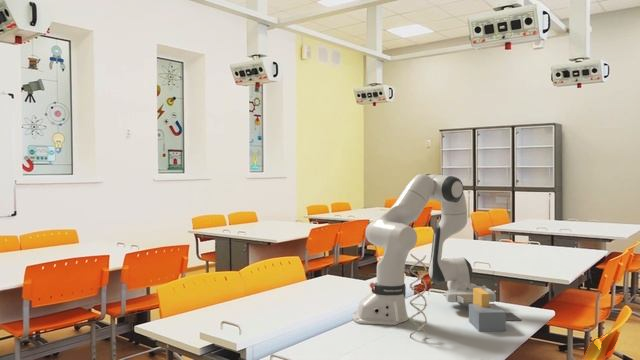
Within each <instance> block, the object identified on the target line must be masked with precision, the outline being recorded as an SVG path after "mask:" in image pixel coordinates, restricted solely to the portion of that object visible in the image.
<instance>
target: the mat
mask: <svg viewBox="0 0 640 360" xmlns="http://www.w3.org/2000/svg"><path fill="white" fill-rule="evenodd" d="M520 321H522V319H521V318H520V317H519V316H517V315H516V314H514V313H513V312H506V322H520Z"/></svg>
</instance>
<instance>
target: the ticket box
mask: <svg viewBox="0 0 640 360" xmlns="http://www.w3.org/2000/svg"><path fill="white" fill-rule="evenodd" d="M506 313H507V312H506V311H505V310H504V309H502V308H501V307H500V306H498V305H496V304H495V303H489V307H480V306H479V305H478V304H473V303H469V304H468V322H469V324H471V325H472V326H473V327H474V328H475V329H476V330H477V331H478V332H506V330H507V329H506V327H507V321H506Z"/></svg>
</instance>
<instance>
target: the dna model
mask: <svg viewBox="0 0 640 360" xmlns="http://www.w3.org/2000/svg"><path fill="white" fill-rule="evenodd" d="M410 256H411V257H412V258H413V259H415V260H416V261H417V262H416V263H414V264H413V265H411V266H410V267H409V272H410V273H411V274H412V275H414V276H415V277H417V279H415V280H414V281H413V282H411V283H410V284H409V288H410V289H411V290H412V291H414V292H415V293H416V294H417V296H415V297H413V298H412V299H410V301H409V305H411V306H412V307H413V308H414V309H416V311H417V312H416V313H415V314H414V315H411V316H410V317H408V320H409V321H410V322H412V324H414V325H416V326H417V329H416V330H415V331H412V332H411V333H410V334H409V338H411V337H412V336H413V335H414V334H416V333H418V332H419V331H421V330H422V333H424V338H425V340H427V332H426V330H425V329H424V327H425V326H426V324H427V322H428V320H427V316H426V314H425V313H424V312H423V311H424V310H425V309H426V307H427V306H428V304H427V299H426V297H425V296H424V294H425V292H426V290H427V287H428V286H427V282H426V281H425V280H424V279H423V278H424V276H425V275H426V274H427V272H428V269H427V266H426V264H425V263H424V262H423V261H424V260H425V258H427V255H424V256H423V258H421V259H419V258H417V257H415V255H413V254H412V253H410ZM419 264H421V265H422V266H423V268H424V270H417V273H419V272H420V273H422V274H421V276H420V275H419V274H417V273H415V272H416V270H413V269H414V267H415V266H417V265H419ZM420 280H421V281H422V283H423V284H424V287H419V288H418V287H417V286H416V287H415V286H413V284H415V283H416V282H418V281H420ZM416 289H422V290H423V291H422V292H421V293H420V292H419V291H418V290H416ZM420 297H421V298H422V299H423V300H424V304H420V303H413V301H415V300H417V299H418V298H420ZM416 305H417V306H423V308H421V309H420V308H419V307H417V306H416ZM420 314H422V316H423V318H424V321H422V320H420V321H419V320H413V318H414V317H416V316H418V315H420ZM417 322H418V323H423V324H422V325H419V324H418V323H417Z"/></svg>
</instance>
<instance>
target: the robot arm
mask: <svg viewBox="0 0 640 360" xmlns="http://www.w3.org/2000/svg"><path fill="white" fill-rule="evenodd" d="M430 200H435V201H440V204H441V205H440V208H441V209H440V213H441V215H440V216H441V217H440V220H439V223H438V224H437V225H435V227H434V229H433V235H432V243H431V251H430V252H431V255H430V260H429V265H428V266H429V267H428V275H429V278H430V280H431V281H433V282H434V283H436V284H442V283H446V282H447V283H446V284H447V285H446V287H447V289H448V290H446V291H445V292H443V293H442V295H443V296H444V297H445V299H446V300H445V301H447V302H448V303H461V304H465V305H469V304H472V303H473V288H481V289H483V290H484V291H486V292H487V293H488V294H489V303H495V302H496V298H497V297H496V296H497V295H496V292H495V291H493V290H492V289H490V288H488V287H487V286H486V285H484V284H475V283H473V282H472V280H473V277H474V276H473V274H474V273H473V267H472V265H471V263H470V262H469V261H468V259H466V258H465V257H453V258H447V259H442V255H443V246H444V244H445V243H444V242H445V241H446V240H447V239H448V238H450V237H452V236H454V235H456V234H457V233H460V232H461V231H462V230H463V229H465V227H466V226H467V223H468V206H467V200H466V196H465V192H464V184H463V182H462V180H461V179H460V178H458V177H457V176H453V175H445V174H444V175H443V174H436V173H435V174H431V173H427V174H424V173H419V174H417V175H415V176H414V177H413V178H412V179H411V180H410V181H409V182H408V183H407V184H406V186H405V187H404V189H403V191H402V192H401V193H400V195H399V196H398V198H397V199H396V201H395V202H394V203H393V204H392V205H391V207H390V208H388V209H387V211H385V213H383V214H382V215H381V216H380V217H378V218H377V219H375V220H373V221H371V222H370V223H368V224H367V226H366V228H365V238H366V240H367V242H369V243H370V244H372V245H373V246H375V247H378V248H383V249H384V251H383V255H382V258H381V259H379V261H377V264H376V282H375V283H374V282H373V281H371V282H370V283H369V287H370V288H371V292H370V293H369V294H367V295H365V297H363V298H361V299H360V301H359V303H358V305H357V306H358V307H357V311H353V312H352V314H351V315H352V316H351V317H352V320H353V322H355V323H358V324H361V325H362V324H363V325H364V324H366V325H367V324H369V325H385V326H386V325H387V326H388V325H389V326H391V325H392V326H397V325H398V324H401V323H403V322H404V323H405V322H406V321H408V320H409V315H408V313H407V312H408V311H407V306H406V294H407V291H406V290H407V289H406V288H407V287H406V283H405V268H406V267H405V266H406V261H407V257H408V255H409V253H410V251H411V250H413V249H414V248H415V246H416V244H417V242H418V235H417V231H416V230H415V228H414V227H411V226H410V224H412V223H415V222H416V221H417V220H418V218H419V217H420V215H421V213H422V212H423V211H424V208H426V206H427V204H428V202H429V201H430ZM471 282H472V283H471Z"/></svg>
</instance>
